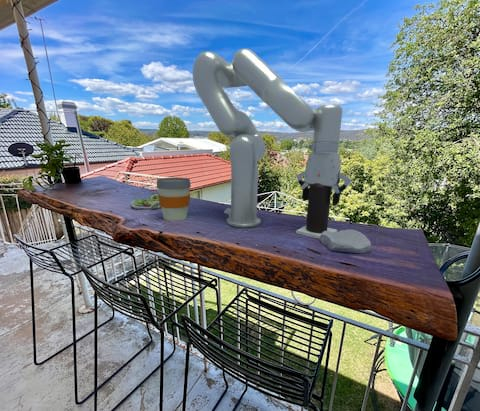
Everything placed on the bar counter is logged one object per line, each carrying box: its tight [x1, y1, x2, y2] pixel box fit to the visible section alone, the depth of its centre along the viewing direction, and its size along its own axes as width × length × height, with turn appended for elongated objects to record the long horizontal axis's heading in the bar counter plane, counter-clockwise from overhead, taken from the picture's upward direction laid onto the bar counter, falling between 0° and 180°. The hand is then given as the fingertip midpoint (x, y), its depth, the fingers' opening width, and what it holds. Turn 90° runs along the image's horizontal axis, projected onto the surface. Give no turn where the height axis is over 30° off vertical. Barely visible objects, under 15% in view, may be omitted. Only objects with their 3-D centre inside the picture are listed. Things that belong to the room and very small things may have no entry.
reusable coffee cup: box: [156, 177, 192, 222], centre depth 93 cm, size 13×13×15 cm
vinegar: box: [305, 170, 333, 233], centre depth 78 cm, size 7×7×20 cm
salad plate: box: [130, 193, 162, 210], centre depth 112 cm, size 19×18×5 cm
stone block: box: [319, 229, 372, 254], centre depth 69 cm, size 12×5×10 cm
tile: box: [295, 225, 338, 240], centre depth 80 cm, size 10×10×1 cm
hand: (319, 202), depth 78 cm, fingers open, 9 cm apart
